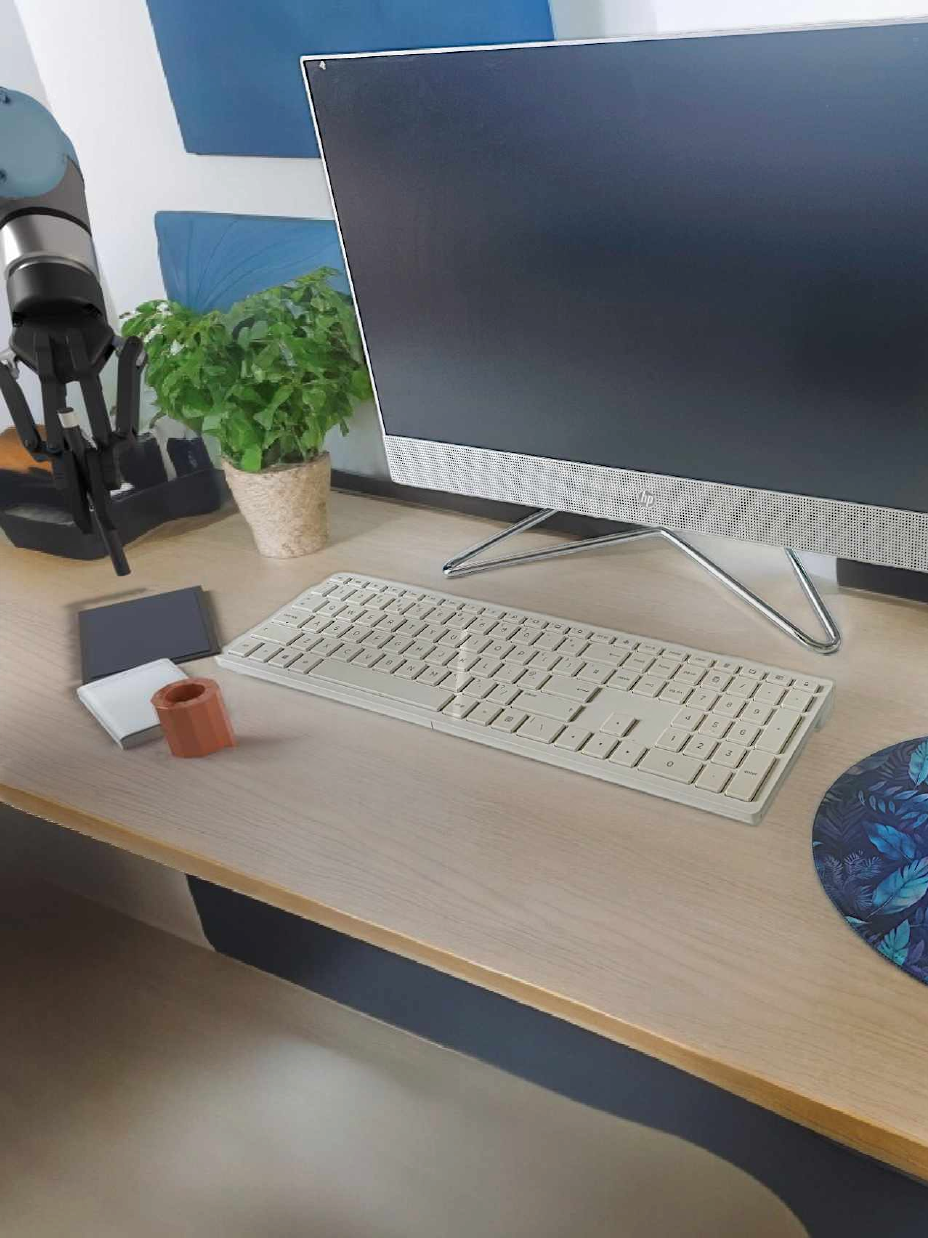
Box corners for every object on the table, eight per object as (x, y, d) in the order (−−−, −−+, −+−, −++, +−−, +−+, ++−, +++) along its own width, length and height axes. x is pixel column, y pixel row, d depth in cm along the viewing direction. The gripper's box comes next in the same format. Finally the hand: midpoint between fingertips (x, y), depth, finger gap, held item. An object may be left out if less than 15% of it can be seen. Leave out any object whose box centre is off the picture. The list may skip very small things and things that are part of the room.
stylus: (114, 577, 107) (54, 411, 99) (118, 571, 108) (59, 407, 100) (129, 575, 107) (70, 410, 99) (132, 570, 108) (75, 406, 100)
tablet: (222, 657, 113) (220, 650, 113) (84, 691, 109) (81, 683, 108) (202, 590, 127) (200, 583, 127) (79, 617, 123) (77, 610, 122)
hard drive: (217, 702, 102) (167, 655, 111) (118, 738, 98) (74, 686, 106) (222, 719, 103) (172, 670, 111) (125, 755, 99) (80, 702, 107)
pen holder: (167, 776, 96) (143, 711, 92) (182, 744, 100) (160, 681, 97) (231, 768, 96) (210, 704, 93) (243, 736, 100) (223, 674, 97)
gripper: (151, 300, 111) (194, 530, 107) (-17, 319, 108) (21, 557, 103) (127, 249, 104) (172, 492, 100) (-53, 267, 101) (-15, 520, 96)
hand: (95, 525), depth 101 cm, fingers closed on stylus
